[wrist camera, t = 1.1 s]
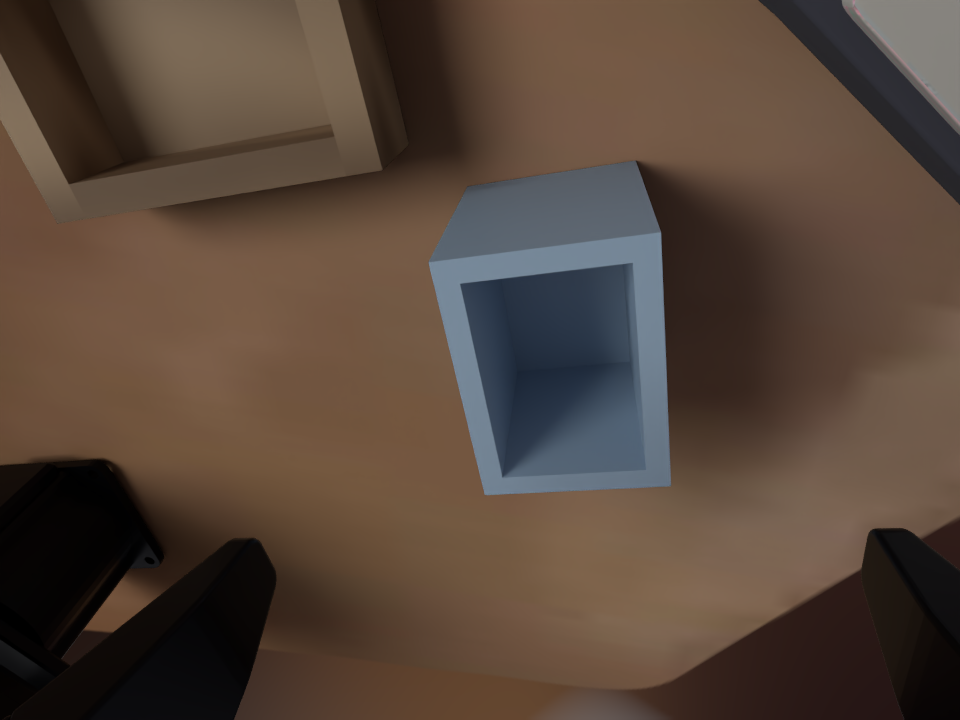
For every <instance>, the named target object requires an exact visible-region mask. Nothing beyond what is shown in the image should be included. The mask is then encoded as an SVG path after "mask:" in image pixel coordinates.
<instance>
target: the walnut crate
mask: <svg viewBox="0 0 960 720" xmlns="http://www.w3.org/2000/svg"><path fill="white" fill-rule="evenodd" d="M0 120H1V122H2V123H3V125H4V127H5V129H6V131H7V132H8V134H9V136H10V138H11V140H12V142H13V143H14V145H15V147H16V149H17V151H18V153H19V154H20V156H21V158H22V160H23V162H24V164H25V165H26V167H27V169H28V171H29V173H30V174H31V176H32V178H33V180H34V182H35V184H36V185H37V187H38V189H39V191H40V193H41V195H42V196H43V198H44V200H45V202H46V204H47V206H48V207H49V209H50V211H51V213H52V215H53V217H54V218H55V220H56V222H57V224H59V223H65V222H71V221H77V220H83V219H89V218H95V217H101V216H107V215H113V214H119V213H126V212H132V211H138V210H144V209H150V208H156V207H162V206H168V205H174V204H180V203H186V202H193V201H199V200H205V199H211V198H217V197H223V196H229V195H235V194H241V193H247V192H254V191H260V190H266V189H272V188H278V187H284V186H290V185H296V184H302V183H308V182H314V181H321V180H327V179H333V178H339V177H345V176H351V175H357V174H363V173H369V172H375V171H381V170H383V169H384V168H385V167H386V166H387V165H388V164H389V163H390V162H391V161H392V160H393V159H394V158H395V157H397V156H398V155H399V154H400V153H401V152H402V151H403V150H404V149H405V148H406V147H407V146H408V145H409V143H408V138H407V134H406V130H405V126H404V121H403V117H402V113H401V109H400V104H399V100H398V96H397V92H396V87H395V83H394V79H393V75H392V70H391V66H390V62H389V58H388V53H387V49H386V45H385V41H384V36H383V32H382V28H381V24H380V19H379V15H378V11H377V7H376V2H375V0H0Z"/></svg>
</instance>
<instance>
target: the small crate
mask: <svg viewBox="0 0 960 720" xmlns="http://www.w3.org/2000/svg"><path fill="white" fill-rule="evenodd" d="M429 266H430V271H431V275H432V279H433V283H434V287H435V291H436V295H437V299H438V304H439V308H440V312H441V316H442V320H443V324H444V328H445V332H446V337H447V341H448V345H449V349H450V353H451V357H452V361H453V365H454V370H455V374H456V378H457V382H458V386H459V390H460V394H461V398H462V403H463V407H464V411H465V415H466V419H467V423H468V427H469V431H470V436H471V440H472V444H473V448H474V452H475V456H476V460H477V464H478V469H479V473H480V477H481V481H482V485H483V489H484V493H485V495H497V494H518V493H538V492H559V491H580V490H601V489H622V488H643V487H664V486H671V476H670V450H669V425H668V399H667V373H666V347H665V321H664V296H663V270H662V244H661V231H660V228H659V225H658V222H657V219H656V217H655V214H654V211H653V208H652V205H651V202H650V200H649V197H648V194H647V191H646V188H645V186H644V183H643V180H642V177H641V174H640V171H639V169H638V166H637V163H636V161H630V162H623V163H617V164H610V165H604V166H597V167H591V168H584V169H578V170H571V171H565V172H558V173H552V174H545V175H539V176H532V177H526V178H519V179H513V180H506V181H500V182H493V183H487V184H480V185H474V186H468V187H467V188H466V190H465V192H464V194H463V196H462V198H461V200H460V202H459V204H458V206H457V208H456V210H455V212H454V214H453V216H452V218H451V220H450V222H449V223H448V225H447V227H446V229H445V231H444V233H443V235H442V237H441V239H440V241H439V243H438V245H437V247H436V249H435V251H434V253H433V255H432V256H431V258H430V260H429Z"/></svg>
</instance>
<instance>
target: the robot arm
mask: <svg viewBox="0 0 960 720" xmlns="http://www.w3.org/2000/svg"><path fill="white" fill-rule="evenodd" d="M163 560H164V554H163V553H162V551H161V550H160V548H159V546H158V545H157V543H156V542H155V540H154V538H153V537H152V535H151V534H150V532H149V531H148V529H147V527H146V526H145V524H144V523H143V521H142V520H141V518H140V516H139V515H138V513H137V512H136V510H135V509H134V507H133V505H132V504H131V502H130V501H129V499H128V498H127V496H126V494H125V493H124V491H123V490H122V488H121V487H120V485H119V483H118V482H117V480H116V479H115V477H114V475H113V474H112V472H111V471H110V469H109V468H108V466H107V465H106V464H104V463H103V462H101V461H98V460H82V461H68V462H53V463H35V464H21V465H6V466H0V720H234V718H235V715H236V713H237V710H238V708H239V705H240V702H241V699H242V697H243V695H244V692H245V689H246V686H247V684H248V681H249V678H250V675H251V671H252V668H253V665H254V662H255V659H256V655H257V651H258V648H259V644H260V641H261V637H262V633H263V630H264V626H265V623H266V619H267V615H268V612H269V608H270V605H271V601H272V598H273V594H274V590H275V587H276V571H275V569H274V567H273V565H272V563H271V561H270V559H269V557H268V555H267V553H266V552H265V550H264V548H263V546H262V544H261V543H260V541H259V540H257V539H256V538H235V539H232V540H230V541H228V542H227V543H226V544H224V545H223V546H222V547H221V548H219V549H218V550H217V551H216V552H214V553H213V554H212V555H210V556H209V557H208V558H207V559H205V560H204V561H203V562H202V563H200V564H199V565H198V566H197V567H195V568H194V569H193V570H191V571H190V572H189V573H188V574H186V575H185V576H184V577H183V578H181V579H180V580H179V581H178V582H176V583H175V584H174V585H173V586H171V587H170V588H169V589H167V590H166V591H165V592H164V593H162V594H161V595H160V596H159V597H157V598H156V599H155V600H154V601H152V602H151V603H150V604H148V605H147V606H146V607H145V608H143V609H142V610H141V611H140V612H138V613H137V614H136V615H135V616H133V617H132V618H131V619H130V620H128V621H127V622H126V623H124V624H123V625H122V626H121V627H119V628H118V629H117V630H116V631H114V632H113V633H112V634H111V635H109V636H108V637H107V638H105V639H104V640H103V641H102V642H101V643H99V644H98V645H97V646H95V647H94V648H93V649H92V650H91V651H89V652H88V653H86V654H85V655H84V656H83V657H82V658H80V659H79V660H78V661H77V662H75V663H74V664H73V665H71V666H70V665H69V664H68V663H66V662H65V661H63V660H62V657H63V656H64V655H65V653H66V652H67V651H68V649H69V648H70V647H71V645H72V644H73V643H74V641H75V640H76V638H77V637H78V636H79V635H80V633H81V632H82V631H83V629H84V628H85V627H86V626H87V624H88V623H89V622H90V620H91V619H92V618H93V616H94V615H95V614H96V612H97V611H98V610H99V608H100V607H101V606H102V604H103V603H104V602H105V600H106V599H107V598H108V596H109V595H110V594H111V592H112V591H113V590H114V588H115V587H116V586H117V584H118V583H119V582H120V581H121V579H122V578H123V577H124V575H125V574H126V573H127V571H128V570H129V569H130V568H156V567H158V566H159V565H160V564H161V562H162V561H163ZM861 578H862V585H863V589H864V593H865V596H866V599H867V603H868V606H869V609H870V613H871V616H872V619H873V623H874V626H875V629H876V633H877V636H878V639H879V643H880V646H881V649H882V652H883V656H884V659H885V663H886V666H887V669H888V672H889V676H890V679H891V683H892V686H893V689H894V692H895V695H896V698H897V701H898V705H899V707H900V710H901V712H902V715H903V717H904V720H960V570H959V569H958V568H956V567H955V566H954V565H953V564H951V563H950V562H949V561H947V560H946V559H945V558H944V557H943V556H941V555H940V554H939V553H937V552H936V551H935V550H934V549H932V548H931V547H930V546H929V545H927V544H926V543H925V542H923V541H922V540H921V539H920V538H919V537H917V536H916V535H915V534H913V533H912V532H910V531H908V530H906V529H903V528H878V529H872V530H871V531H870V532H869V534H868V537H867V542H866V547H865V553H864V558H863V563H862V568H861Z"/></svg>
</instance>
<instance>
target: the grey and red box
mask: <svg viewBox="0 0 960 720" xmlns="http://www.w3.org/2000/svg"><path fill="white" fill-rule="evenodd" d="M759 1H760V2H761V3H762V4H763V5H764V6H766V7H767V8H768V9H769V10H770V11H771V12H772V13H774V14H775V15H776V16H777V17H778V18H779V19H780V20H781V21H782V22H783V23H784V24H785V26H786V27H787V28H788V29H789V30H790V31H791V32H792V33H793V34H794V35H795V36H796V37H797V38H798V39H799V40H800V41H801V42H802V43H803V44H804V45H805V46H806V47H807V48H808V49H809V50H810V51H811V52H812V53H813V54H814V55H815V56H816V57H817V59H818V60H819V61H820V62H821V63H822V64H823V65H824V66H825V67H826V68H827V69H828V70H829V71H830V72H831V73H832V74H833V75H834V76H835V77H836V78H837V79H838V80H839V81H840V82H841V83H842V84H843V85H844V86H845V87H846V88H847V89H848V90H849V92H850V93H851V94H852V95H853V96H854V97H855V98H856V99H857V100H858V101H859V102H860V103H861V104H862V105H863V106H864V107H865V108H866V109H867V110H868V111H869V112H870V113H871V114H872V115H873V116H874V117H875V118H876V119H877V120H878V121H879V122H880V123H881V125H882V126H883V127H884V128H885V129H886V130H887V131H888V132H889V133H890V134H891V135H892V136H893V137H894V138H895V139H896V140H897V141H898V142H899V143H900V144H901V145H902V146H903V147H904V148H905V149H906V150H907V151H908V152H909V153H910V154H911V155H912V156H913V158H914V159H915V160H916V161H917V162H918V163H919V164H920V165H921V166H922V167H923V168H924V169H925V170H926V171H927V172H928V173H929V174H930V175H931V176H932V177H933V178H934V179H935V180H936V181H937V182H938V183H939V184H940V185H941V186H942V187H943V188H944V189H945V190H946V191H947V192H948V193H949V194H950V195H951V196H952V197H953V198H954V199H955V200H956V201H957V202H958V203H959V204H960V0H759Z"/></svg>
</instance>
